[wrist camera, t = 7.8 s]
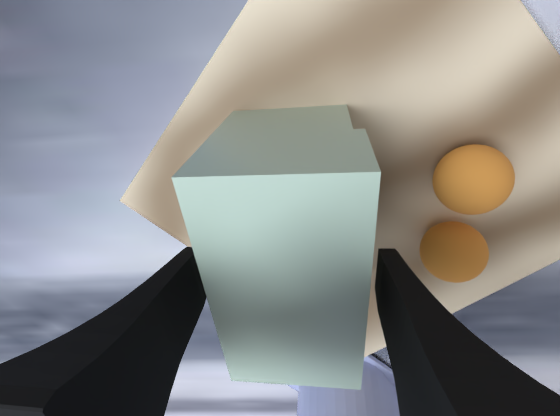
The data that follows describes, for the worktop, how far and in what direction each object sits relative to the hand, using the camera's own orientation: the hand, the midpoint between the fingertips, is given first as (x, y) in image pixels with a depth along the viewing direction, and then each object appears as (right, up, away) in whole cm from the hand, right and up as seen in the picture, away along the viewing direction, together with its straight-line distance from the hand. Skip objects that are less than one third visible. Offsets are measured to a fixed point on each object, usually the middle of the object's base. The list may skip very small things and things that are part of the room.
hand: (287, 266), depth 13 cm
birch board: (+4, +3, +4) cm, 7 cm away
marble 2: (+8, 0, +3) cm, 9 cm away
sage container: (+1, +3, +4) cm, 5 cm away
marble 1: (+8, +4, +1) cm, 9 cm away
